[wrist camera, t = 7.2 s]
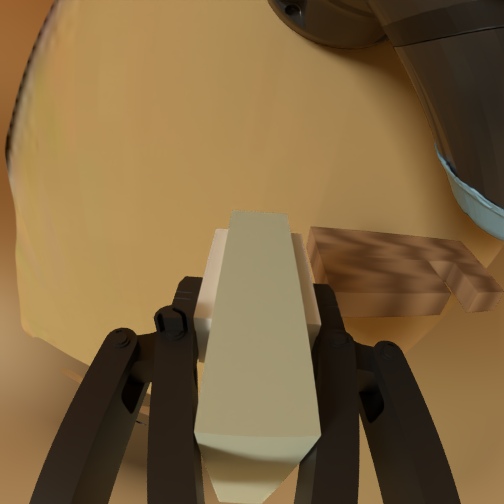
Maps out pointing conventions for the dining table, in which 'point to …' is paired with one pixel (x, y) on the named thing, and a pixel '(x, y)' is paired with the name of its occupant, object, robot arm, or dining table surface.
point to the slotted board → (398, 273)
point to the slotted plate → (256, 365)
